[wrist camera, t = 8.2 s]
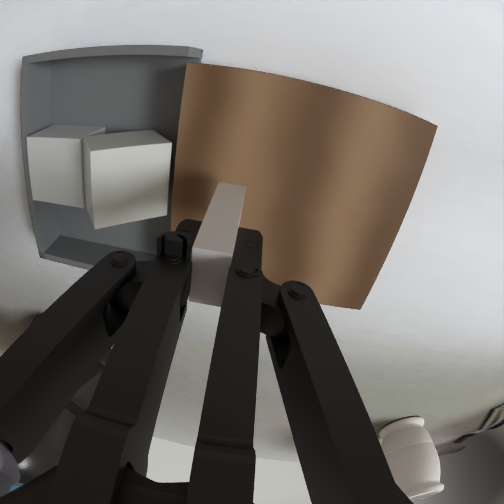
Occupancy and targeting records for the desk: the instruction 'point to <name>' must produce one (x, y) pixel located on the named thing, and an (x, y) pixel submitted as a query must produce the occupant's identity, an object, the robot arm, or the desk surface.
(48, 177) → the light grey block
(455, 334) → the desk surface
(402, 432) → the jar
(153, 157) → the tile
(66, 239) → the tray
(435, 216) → the desk surface
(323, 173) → the board
